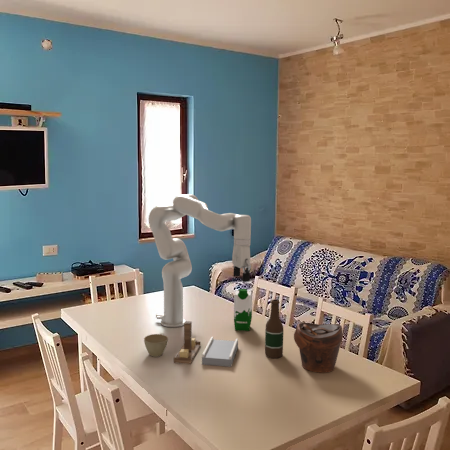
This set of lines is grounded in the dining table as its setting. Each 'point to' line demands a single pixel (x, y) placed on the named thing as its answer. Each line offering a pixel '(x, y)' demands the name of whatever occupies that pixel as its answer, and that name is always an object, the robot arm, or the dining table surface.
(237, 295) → the milk carton
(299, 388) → the dining table surface
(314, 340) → the brown lidded bucket
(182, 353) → the crate
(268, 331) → the beer bottle
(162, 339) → the flower pot
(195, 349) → the brown base with upright
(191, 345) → the block
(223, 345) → the tray
